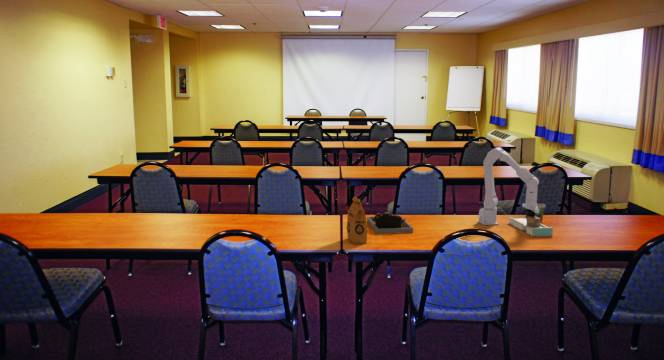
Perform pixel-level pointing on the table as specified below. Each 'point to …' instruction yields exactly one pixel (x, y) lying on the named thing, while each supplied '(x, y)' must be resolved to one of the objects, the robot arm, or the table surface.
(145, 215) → the table surface
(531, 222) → the walnut block
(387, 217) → the black lump on tray
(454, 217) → the table surface
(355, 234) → the coffee package
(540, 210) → the food container
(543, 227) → the trap runway
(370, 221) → the tray
